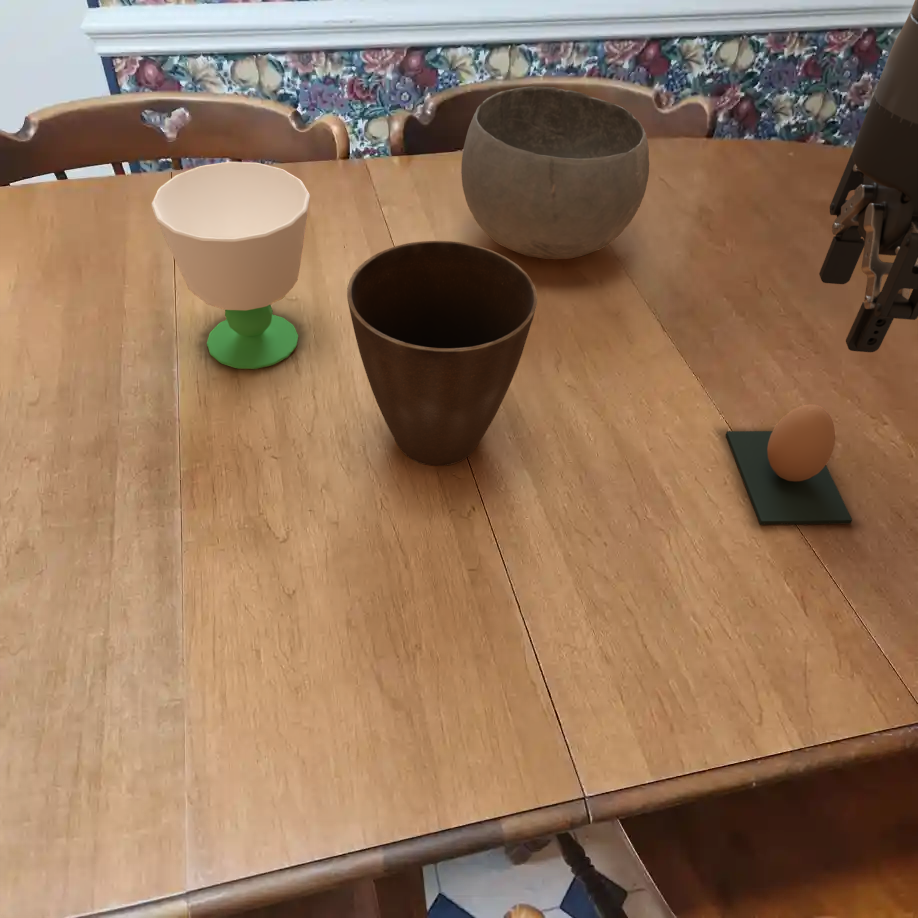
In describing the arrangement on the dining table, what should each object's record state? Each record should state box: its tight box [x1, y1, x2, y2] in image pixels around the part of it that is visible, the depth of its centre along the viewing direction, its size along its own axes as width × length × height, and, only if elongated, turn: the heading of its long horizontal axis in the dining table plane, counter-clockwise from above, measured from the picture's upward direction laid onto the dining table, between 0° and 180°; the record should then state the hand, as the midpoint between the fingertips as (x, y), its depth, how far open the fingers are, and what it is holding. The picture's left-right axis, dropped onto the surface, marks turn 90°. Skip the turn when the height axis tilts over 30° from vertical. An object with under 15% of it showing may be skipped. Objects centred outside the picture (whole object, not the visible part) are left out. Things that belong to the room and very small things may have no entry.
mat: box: [725, 430, 853, 526], centre depth 79 cm, size 11×8×1 cm
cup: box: [150, 161, 311, 370], centre depth 84 cm, size 14×14×16 cm
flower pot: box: [346, 240, 538, 467], centre depth 75 cm, size 15×15×16 cm
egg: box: [767, 403, 836, 482], centre depth 76 cm, size 5×5×8 cm
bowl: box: [460, 85, 650, 260], centre depth 99 cm, size 20×20×15 cm
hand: (845, 313), depth 66 cm, fingers open, 8 cm apart
